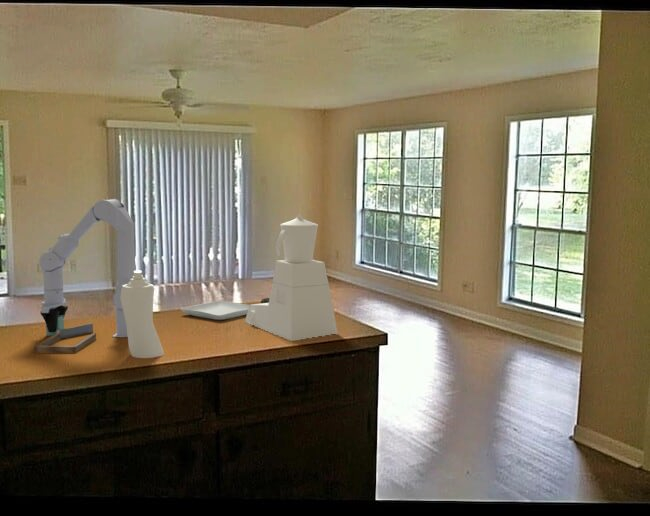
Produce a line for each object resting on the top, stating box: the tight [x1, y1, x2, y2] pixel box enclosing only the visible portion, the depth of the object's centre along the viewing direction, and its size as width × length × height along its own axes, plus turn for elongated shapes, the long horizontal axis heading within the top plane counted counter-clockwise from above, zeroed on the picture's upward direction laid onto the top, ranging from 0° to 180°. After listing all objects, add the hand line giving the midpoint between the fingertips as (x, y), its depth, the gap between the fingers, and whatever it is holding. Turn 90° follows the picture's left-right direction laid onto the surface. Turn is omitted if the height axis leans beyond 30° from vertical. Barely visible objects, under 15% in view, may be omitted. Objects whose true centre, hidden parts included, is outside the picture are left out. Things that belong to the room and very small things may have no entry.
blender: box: [244, 213, 338, 342], centre depth 212 cm, size 33×18×40 cm, turn 33°
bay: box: [33, 332, 97, 354], centre depth 189 cm, size 12×16×2 cm
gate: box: [57, 322, 94, 340], centre depth 202 cm, size 12×1×3 cm, turn 145°
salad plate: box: [180, 300, 250, 321], centre depth 238 cm, size 21×21×3 cm
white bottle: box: [120, 269, 165, 359], centre depth 178 cm, size 12×11×25 cm
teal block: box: [45, 315, 65, 336], centre depth 204 cm, size 4×4×6 cm
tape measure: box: [260, 297, 270, 304], centre depth 249 cm, size 7×7×4 cm
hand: (55, 330), depth 205 cm, fingers closed on teal block, 4 cm apart
